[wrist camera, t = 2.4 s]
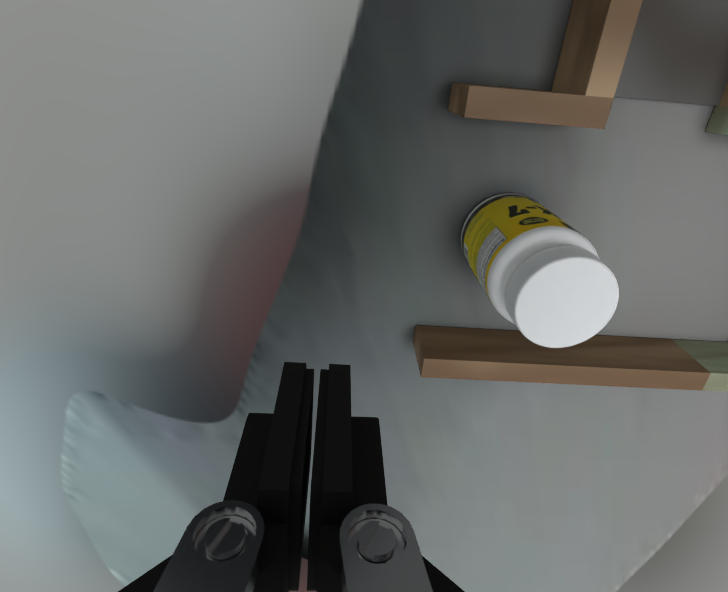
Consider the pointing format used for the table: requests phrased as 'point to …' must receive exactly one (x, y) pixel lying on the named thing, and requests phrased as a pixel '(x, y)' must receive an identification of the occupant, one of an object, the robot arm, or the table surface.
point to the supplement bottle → (538, 271)
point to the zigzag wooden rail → (591, 109)
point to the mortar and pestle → (303, 577)
